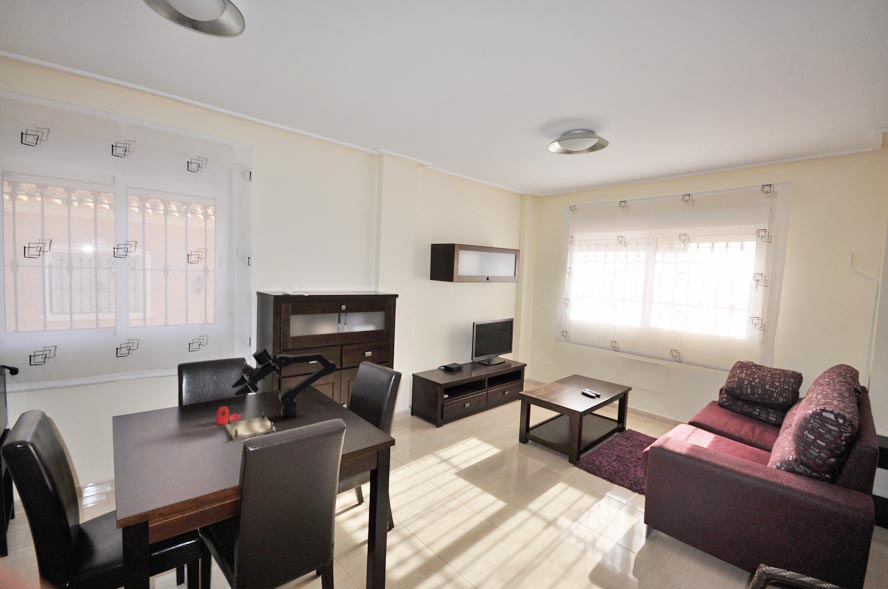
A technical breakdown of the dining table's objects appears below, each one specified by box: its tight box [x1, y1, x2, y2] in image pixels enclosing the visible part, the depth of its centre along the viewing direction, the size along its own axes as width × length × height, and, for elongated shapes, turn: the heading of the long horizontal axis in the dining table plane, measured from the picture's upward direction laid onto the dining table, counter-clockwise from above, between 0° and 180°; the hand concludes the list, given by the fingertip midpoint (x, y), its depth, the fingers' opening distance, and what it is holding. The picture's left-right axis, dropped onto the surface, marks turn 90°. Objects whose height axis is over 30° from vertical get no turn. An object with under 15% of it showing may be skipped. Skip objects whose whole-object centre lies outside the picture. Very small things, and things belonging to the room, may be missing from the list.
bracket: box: [215, 405, 242, 426], centre depth 197 cm, size 12×4×8 cm, turn 165°
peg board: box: [225, 411, 276, 441], centre depth 189 cm, size 18×18×4 cm
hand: (233, 391), depth 191 cm, fingers open, 9 cm apart
